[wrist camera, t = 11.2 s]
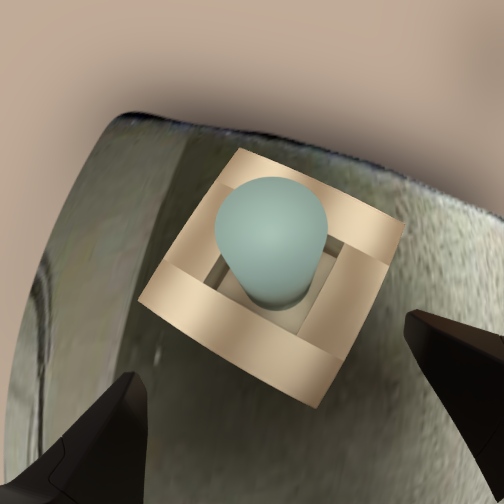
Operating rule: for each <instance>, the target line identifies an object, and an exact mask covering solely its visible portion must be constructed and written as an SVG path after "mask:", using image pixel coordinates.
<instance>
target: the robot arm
mask: <svg viewBox="0 0 504 504" xmlns="http://www.w3.org/2000/svg"><path fill="white" fill-rule="evenodd" d="M404 337H405V340H406V342H407V343H408V345H409V347H410V349H411V351H412V353H413V355H414V357H415V359H416V361H417V363H418V365H419V367H420V369H421V370H422V372H423V374H424V375H425V377H426V378H427V380H428V382H429V383H430V385H431V386H432V388H433V389H434V391H435V392H436V394H437V396H438V397H439V399H440V400H441V402H442V404H443V405H444V407H445V409H446V410H447V412H448V413H449V415H450V417H451V418H452V420H453V422H454V423H455V425H456V427H457V429H458V430H459V432H460V434H461V435H462V437H463V439H464V441H465V442H466V444H467V446H468V448H469V450H470V451H471V453H472V455H473V457H474V458H475V461H476V463H477V464H478V466H479V468H480V470H481V472H482V474H483V476H484V478H485V480H486V482H487V484H488V486H489V487H490V489H491V491H492V494H493V496H494V498H495V500H496V501H497V503H498V502H500V501H501V500H502V499H503V498H504V336H501V335H500V336H499V335H498V334H495V333H492V332H488V331H485V330H482V329H479V328H476V327H472V326H469V325H466V324H463V323H460V322H456V321H453V320H450V319H447V318H444V317H440V316H437V315H434V314H431V313H428V312H425V311H421V310H418V309H416V310H413V311H410V312H408V313H407V314H406V317H405V325H404ZM147 438H148V418H147V391H146V388H145V386H144V384H143V382H142V380H141V379H140V377H139V375H138V373H137V372H135V371H131V372H124V373H123V374H122V375H121V376H120V377H119V378H118V379H117V380H116V381H115V382H114V383H113V384H112V385H111V386H110V387H109V388H108V389H107V390H106V391H105V392H104V393H103V394H102V395H101V396H100V397H99V398H98V399H97V401H96V402H95V403H94V404H93V405H92V406H91V407H90V408H89V409H88V410H87V411H86V412H85V413H84V414H83V415H82V416H81V417H80V418H79V419H78V420H77V421H76V422H75V423H74V424H73V425H72V426H71V427H70V428H69V429H68V430H67V431H66V432H65V433H64V434H63V435H62V437H60V438H59V439H58V440H57V441H56V442H55V443H54V444H53V445H52V446H51V447H50V448H49V449H48V450H47V451H46V452H45V453H44V454H43V455H42V456H41V457H40V458H38V459H37V460H36V461H35V462H34V463H33V464H31V465H30V466H29V467H28V468H27V469H26V470H24V471H23V472H22V473H21V474H20V475H18V476H17V477H16V478H15V479H13V480H12V481H11V482H9V483H7V484H4V485H0V504H143V498H144V478H145V463H146V450H147Z"/></svg>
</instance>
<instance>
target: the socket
mask: <svg viewBox="0 0 504 504" xmlns="http://www.w3.org/2000/svg"><path fill="white" fill-rule="evenodd" d="M273 176H274V177H283V178H288V179H291V180H294V181H296V182H298V183H300V184H302V185H304V186H305V187H307V188H308V189H309V190H311V191H312V192H313V193H314V194H315V195H316V197H317V198H318V199H319V201H320V202H321V204H322V206H323V208H324V210H325V213H326V217H327V222H328V234H327V239H326V242H325V245H324V248H323V251H322V254H321V257H320V260H319V263H318V266H317V269H316V272H315V275H314V277H313V280H312V283H311V286H310V288H309V291H308V293H307V295H306V296H305V297H304V299H303V300H302V301H301V302H300V303H298V304H297V305H296V306H294V307H292V308H290V309H287V310H283V311H270V310H266V309H263V308H261V307H259V306H257V305H256V304H255V303H253V302H252V301H251V300H250V299H249V297H248V296H247V294H246V293H245V291H244V290H243V288H242V286H241V285H240V283H239V282H238V280H237V278H236V277H235V275H234V274H233V272H232V270H231V269H230V267H229V266H228V264H227V262H226V261H225V259H224V257H223V256H222V254H221V252H220V250H219V248H218V246H217V243H216V238H215V220H216V216H217V213H218V210H219V208H220V206H221V204H222V203H223V201H224V200H225V199H226V197H227V196H228V195H229V194H230V193H231V192H232V191H233V190H235V189H236V188H237V187H239V186H240V185H242V184H244V183H246V182H248V181H251V180H253V179H257V178H261V177H273ZM404 227H405V224H403V223H402V222H400V221H398V220H396V219H394V218H392V217H390V216H389V215H387V214H385V213H383V212H381V211H379V210H377V209H375V208H373V207H371V206H369V205H367V204H365V203H363V202H361V201H359V200H357V199H355V198H353V197H351V196H349V195H347V194H345V193H343V192H341V191H339V190H337V189H335V188H333V187H331V186H328V185H326V184H324V183H322V182H320V181H318V180H315V179H313V178H311V177H309V176H307V175H304V174H302V173H300V172H298V171H295V170H293V169H291V168H288V167H286V166H284V165H281V164H279V163H277V162H274V161H272V160H269V159H267V158H264V157H262V156H259V155H257V154H255V153H252V152H249V151H247V150H244V149H242V148H239V149H238V151H237V152H236V153H235V155H234V156H233V157H232V159H231V160H230V161H229V163H228V164H227V165H226V167H225V168H224V170H223V171H222V172H221V174H220V175H219V177H218V178H217V179H216V181H215V182H214V184H213V185H212V186H211V188H210V189H209V191H208V192H207V194H206V195H205V196H204V198H203V199H202V201H201V202H200V204H199V205H198V207H197V208H196V210H195V211H194V213H193V214H192V215H191V217H190V218H189V220H188V221H187V223H186V224H185V226H184V227H183V229H182V230H181V232H180V233H179V235H178V237H177V238H176V240H175V241H174V243H173V244H172V246H171V247H170V249H169V250H168V252H167V254H166V255H165V257H164V258H163V260H162V261H161V263H160V265H159V266H158V268H157V269H156V271H155V273H154V274H153V276H152V277H151V279H150V281H149V282H148V284H147V286H146V287H145V289H144V291H143V292H142V294H141V296H140V297H139V299H138V301H139V302H141V303H142V304H143V305H145V306H146V307H147V308H149V309H150V310H152V311H153V312H154V313H156V314H157V315H159V316H160V317H162V318H163V319H164V320H166V321H167V322H169V323H170V324H172V325H173V326H175V327H176V328H178V329H179V330H181V331H182V332H184V333H185V334H187V335H188V336H190V337H191V338H193V339H194V340H196V341H197V342H199V343H200V344H202V345H204V346H205V347H207V348H208V349H210V350H211V351H213V352H215V353H216V354H218V355H220V356H221V357H223V358H224V359H226V360H228V361H229V362H231V363H233V364H234V365H236V366H238V367H239V368H241V369H243V370H245V371H246V372H248V373H250V374H251V375H253V376H255V377H257V378H258V379H260V380H262V381H264V382H266V383H267V384H269V385H271V386H273V387H275V388H277V389H278V390H280V391H282V392H284V393H286V394H288V395H290V396H292V397H293V398H295V399H297V400H299V401H301V402H303V403H305V404H307V405H309V406H311V407H313V408H315V409H316V408H317V407H318V405H319V403H320V402H321V400H322V398H323V397H324V395H325V393H326V392H327V390H328V388H329V387H330V385H331V383H332V382H333V380H334V378H335V376H336V375H337V373H338V371H339V369H340V367H341V366H342V364H343V362H344V360H345V358H346V356H347V355H348V353H349V351H350V349H351V347H352V345H353V343H354V341H355V339H356V337H357V335H358V333H359V331H360V329H361V327H362V325H363V323H364V321H365V319H366V317H367V315H368V313H369V311H370V309H371V307H372V304H373V302H374V300H375V298H376V296H377V294H378V291H379V289H380V287H381V284H382V282H383V280H384V278H385V275H386V273H387V270H388V268H389V266H390V263H391V261H392V258H393V256H394V253H395V251H396V248H397V246H398V243H399V240H400V238H401V235H402V232H403V230H404Z"/></svg>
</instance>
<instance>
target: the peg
mask: <svg viewBox="0 0 504 504" xmlns="http://www.w3.org/2000/svg"><path fill="white" fill-rule="evenodd" d="M327 234H328V222H327V217H326V213H325V210H324V208H323V206H322V204H321V202H320V201H319V199H318V198H317V197H316V195H315V194H314V193H313V192H312V191H311V190H309V189H308V188H307V187H305V186H304V185H302V184H300V183H298V182H296V181H294V180H291V179H288V178H283V177H274V176H273V177H261V178H257V179H253V180H251V181H248V182H246V183H244V184H242V185H240V186H239V187H237V188H236V189H235V190H233V191H232V192H231V193H230V194H229V195H228V196H227V197H226V199H225V200H224V201H223V203H222V204H221V206H220V208H219V210H218V213H217V216H216V220H215V238H216V243H217V246H218V248H219V250H220V252H221V254H222V256H223V257H224V259H225V261H226V262H227V264H228V266H229V267H230V269H231V270H232V272H233V274H234V275H235V277H236V278H237V280H238V282H239V283H240V285H241V286H242V288H243V290H244V291H245V293H246V294H247V296H248V297H249V299H250V300H251V301H252V302H253V303H255V304H256V305H257V306H259V307H261V308H263V309H266V310H270V311H283V310H287V309H290V308H292V307H294V306H296V305H297V304H298V303H300V302H301V301H302V300H303V299H304V297H305V296H306V295H307V293H308V291H309V288H310V286H311V283H312V280H313V277H314V275H315V272H316V269H317V266H318V263H319V260H320V257H321V254H322V251H323V248H324V245H325V242H326V239H327Z"/></svg>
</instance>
